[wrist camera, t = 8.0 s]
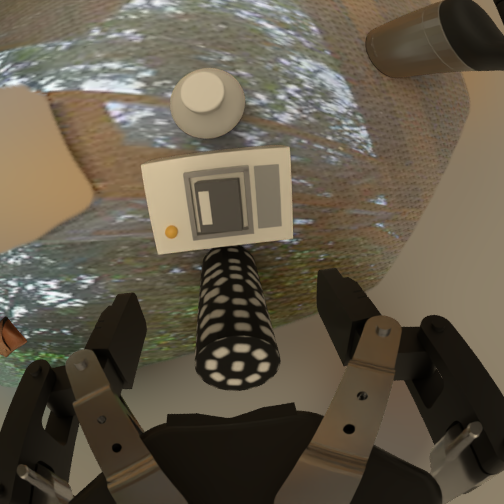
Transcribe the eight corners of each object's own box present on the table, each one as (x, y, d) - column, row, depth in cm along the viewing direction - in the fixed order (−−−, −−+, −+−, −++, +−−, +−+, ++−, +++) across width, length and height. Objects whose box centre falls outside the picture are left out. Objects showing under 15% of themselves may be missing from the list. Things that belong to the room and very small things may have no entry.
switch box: (280, 144, 36) (292, 148, 30) (284, 225, 41) (295, 242, 36) (150, 160, 35) (138, 166, 29) (164, 239, 40) (156, 258, 34)
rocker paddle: (239, 177, 31) (237, 180, 30) (243, 225, 34) (242, 231, 32) (197, 180, 32) (193, 183, 30) (204, 227, 34) (200, 232, 33)
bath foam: (230, 81, 31) (242, 33, 14) (242, 128, 35) (268, 127, 17) (179, 95, 32) (138, 63, 14) (192, 142, 35) (165, 156, 17)
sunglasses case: (7, 359, 48) (-10, 364, 41) (-2, 335, 49) (-19, 339, 42) (28, 341, 46) (8, 346, 39) (18, 313, 46) (-2, 317, 40)
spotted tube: (250, 292, 46) (270, 391, 28) (199, 288, 44) (193, 388, 26) (259, 246, 42) (289, 337, 24) (204, 240, 41) (196, 332, 23)
